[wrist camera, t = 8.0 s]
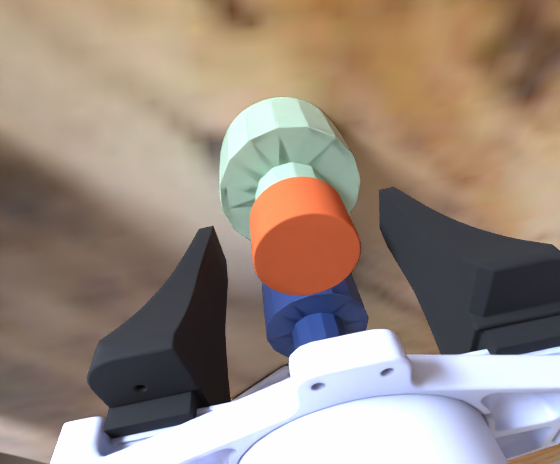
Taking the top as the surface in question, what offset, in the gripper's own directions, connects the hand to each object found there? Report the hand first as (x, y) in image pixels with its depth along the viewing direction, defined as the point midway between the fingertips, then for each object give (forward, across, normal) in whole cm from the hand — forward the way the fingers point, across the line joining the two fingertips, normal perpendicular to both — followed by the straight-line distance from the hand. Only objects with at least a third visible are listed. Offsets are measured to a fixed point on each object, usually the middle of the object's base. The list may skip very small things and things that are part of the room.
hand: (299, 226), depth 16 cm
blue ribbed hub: (+7, 0, +11) cm, 13 cm away
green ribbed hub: (+7, 0, 0) cm, 7 cm away
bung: (+2, 0, 0) cm, 2 cm away
